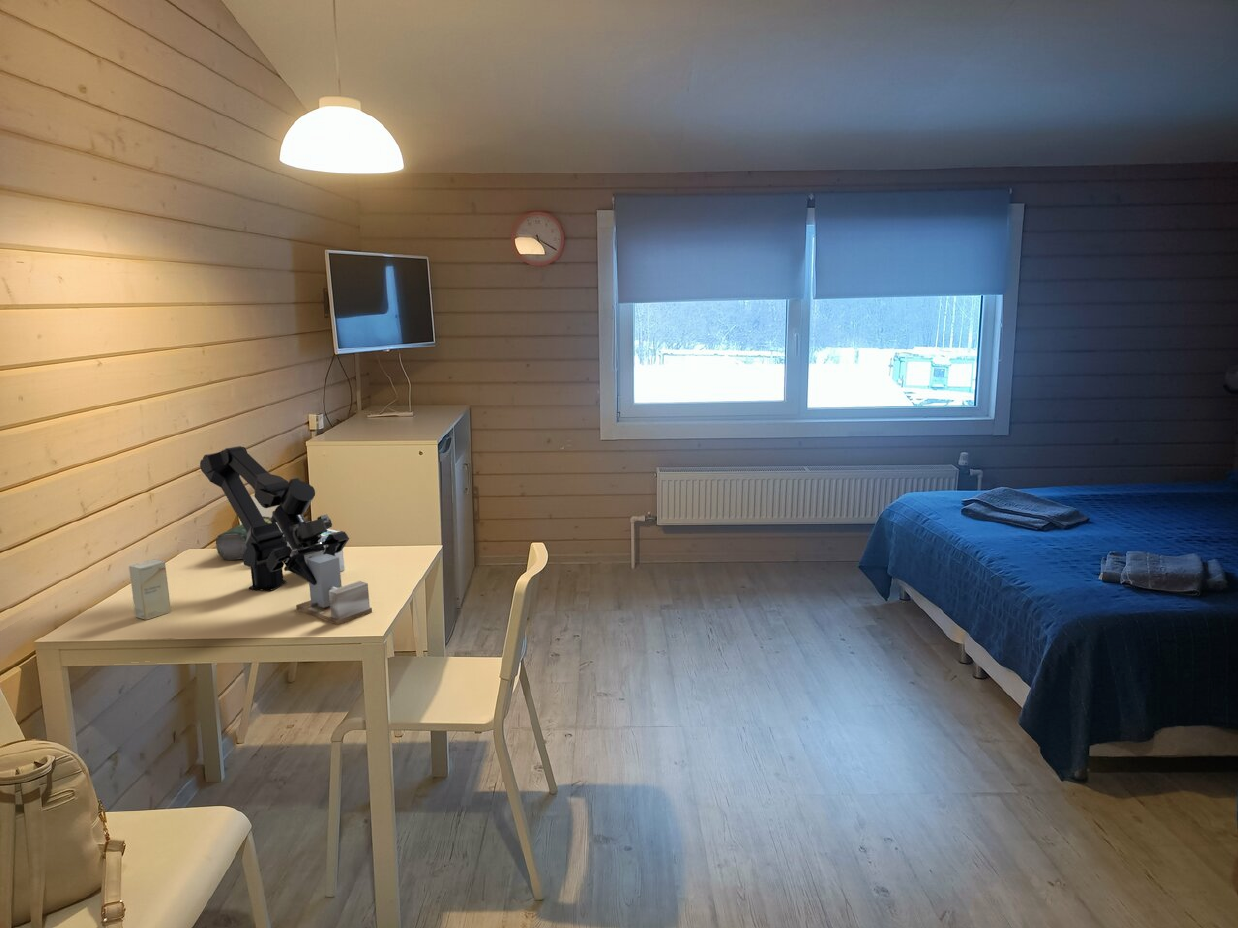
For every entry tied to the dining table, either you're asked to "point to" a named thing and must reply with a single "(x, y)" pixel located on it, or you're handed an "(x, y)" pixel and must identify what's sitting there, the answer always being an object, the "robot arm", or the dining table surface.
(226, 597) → the dining table surface
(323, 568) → the blue-gray square block
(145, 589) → the skincare box
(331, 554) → the robot arm
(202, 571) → the dining table surface
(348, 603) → the block on stand
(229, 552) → the coffee jar
